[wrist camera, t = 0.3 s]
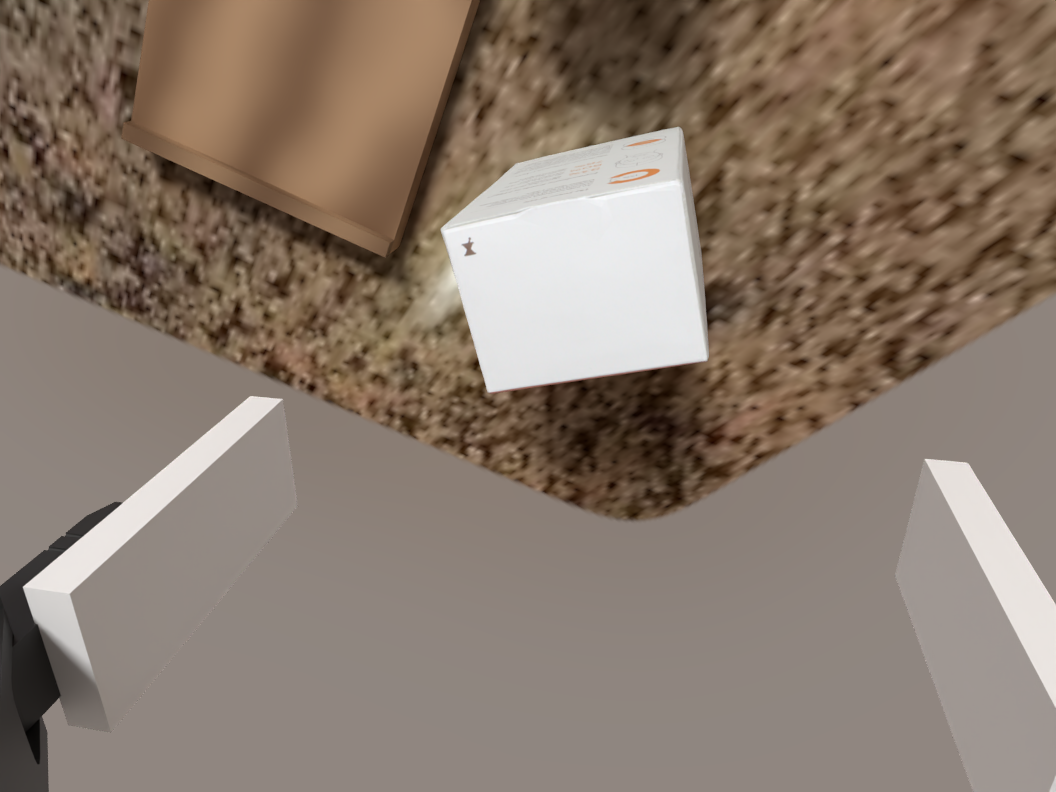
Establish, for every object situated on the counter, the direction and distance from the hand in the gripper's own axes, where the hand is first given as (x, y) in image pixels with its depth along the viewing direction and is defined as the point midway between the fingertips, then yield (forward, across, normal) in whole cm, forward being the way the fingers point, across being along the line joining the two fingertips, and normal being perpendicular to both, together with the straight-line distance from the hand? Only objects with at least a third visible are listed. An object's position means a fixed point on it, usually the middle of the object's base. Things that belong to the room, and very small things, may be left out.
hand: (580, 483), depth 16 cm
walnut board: (+24, -16, +7) cm, 30 cm away
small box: (+24, -2, 0) cm, 24 cm away
